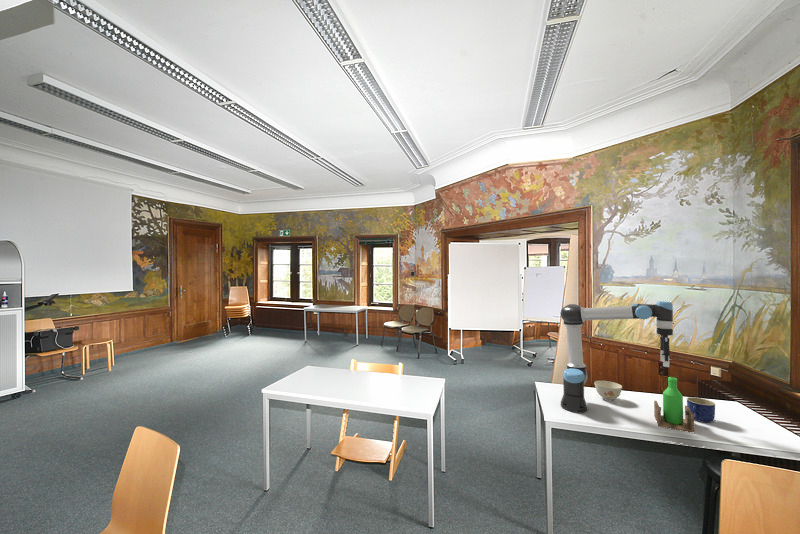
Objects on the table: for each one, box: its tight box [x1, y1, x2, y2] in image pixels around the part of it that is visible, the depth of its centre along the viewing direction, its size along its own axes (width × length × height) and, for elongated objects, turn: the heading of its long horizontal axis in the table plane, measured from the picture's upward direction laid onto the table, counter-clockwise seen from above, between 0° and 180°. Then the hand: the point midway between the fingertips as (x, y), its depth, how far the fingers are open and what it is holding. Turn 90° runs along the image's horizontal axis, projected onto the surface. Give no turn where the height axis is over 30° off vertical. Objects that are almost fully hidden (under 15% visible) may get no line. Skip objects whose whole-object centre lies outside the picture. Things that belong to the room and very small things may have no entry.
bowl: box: [594, 380, 623, 402], centre depth 226 cm, size 16×16×10 cm
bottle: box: [662, 376, 684, 425], centre depth 189 cm, size 9×9×25 cm
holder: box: [653, 400, 695, 433], centre depth 189 cm, size 15×16×9 cm
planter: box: [686, 396, 716, 424], centre depth 195 cm, size 12×12×11 cm
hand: (664, 364), depth 195 cm, fingers open, 13 cm apart
